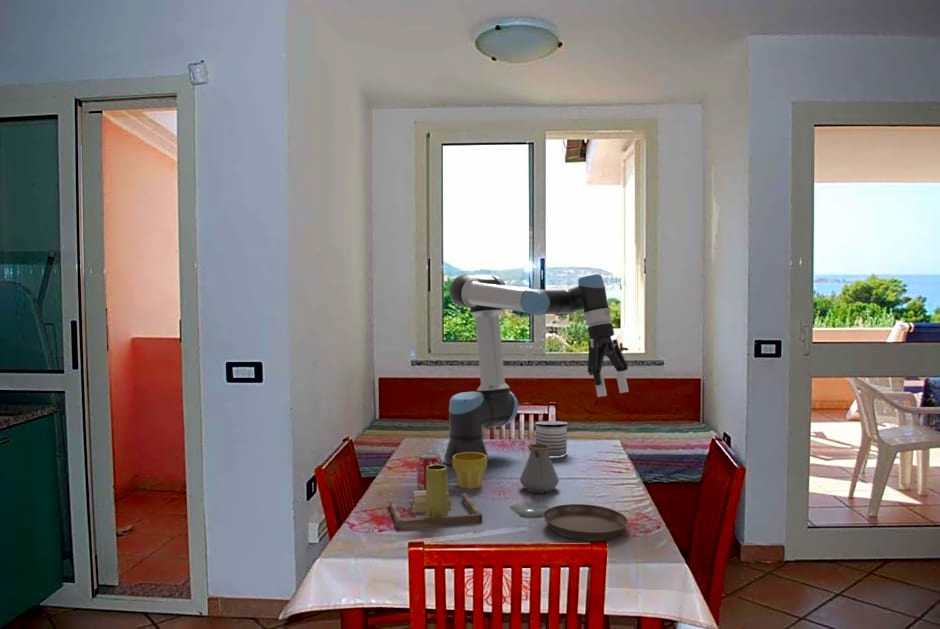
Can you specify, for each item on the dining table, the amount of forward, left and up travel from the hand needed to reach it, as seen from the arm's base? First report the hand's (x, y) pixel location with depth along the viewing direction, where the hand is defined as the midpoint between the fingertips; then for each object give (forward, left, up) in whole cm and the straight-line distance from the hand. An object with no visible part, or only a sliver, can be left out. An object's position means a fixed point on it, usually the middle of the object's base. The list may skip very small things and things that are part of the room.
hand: (613, 394), depth 200 cm
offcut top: (+10, -57, -25) cm, 63 cm away
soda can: (-4, -55, -28) cm, 62 cm away
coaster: (+14, -31, -28) cm, 44 cm away
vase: (+18, -57, -28) cm, 66 cm away
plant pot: (-9, -42, -28) cm, 51 cm away
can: (-42, -4, -28) cm, 50 cm away
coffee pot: (+1, -24, -28) cm, 37 cm away
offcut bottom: (+10, -57, -29) cm, 65 cm away
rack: (+14, -57, -28) cm, 65 cm away
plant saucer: (+30, -22, -28) cm, 47 cm away
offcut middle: (+9, -57, -27) cm, 64 cm away
